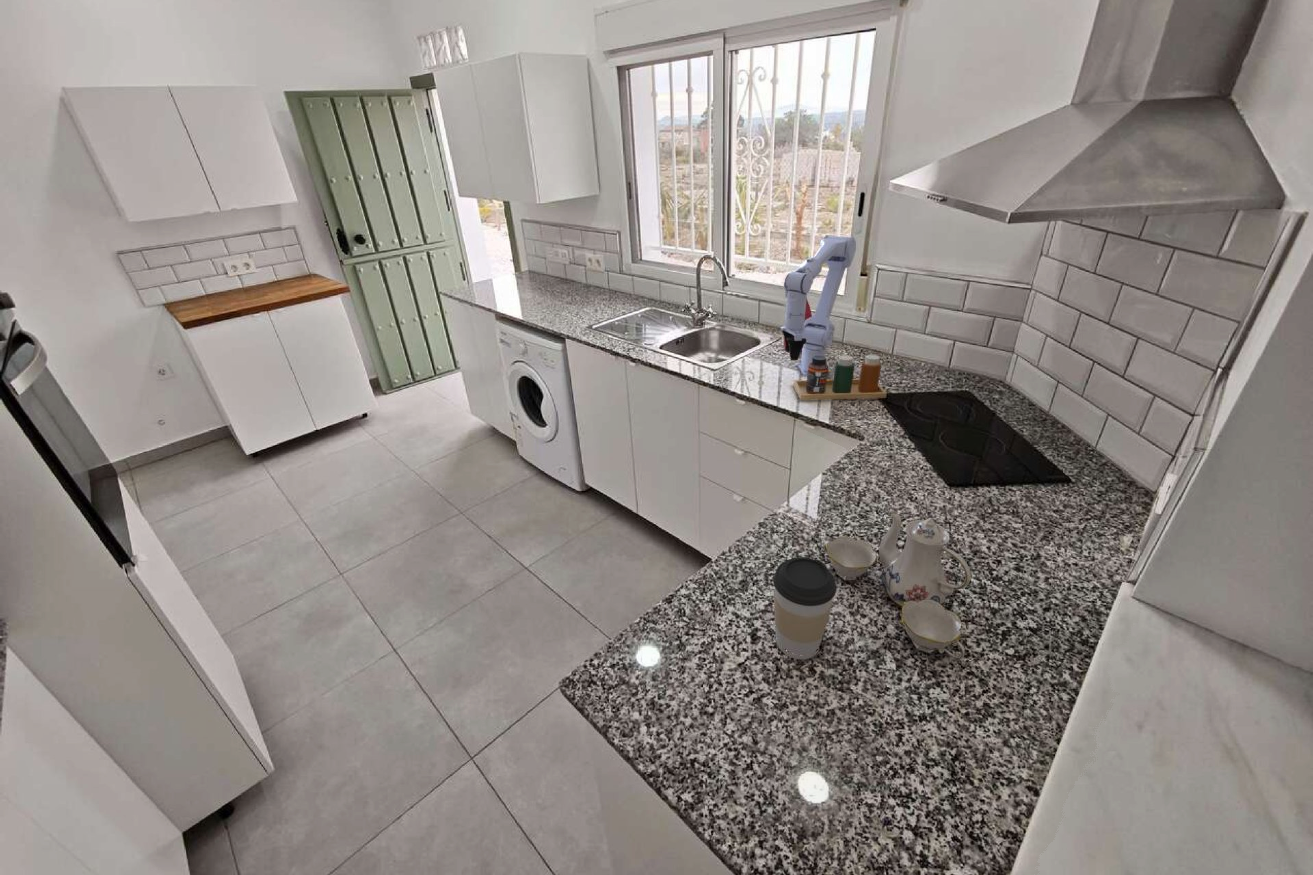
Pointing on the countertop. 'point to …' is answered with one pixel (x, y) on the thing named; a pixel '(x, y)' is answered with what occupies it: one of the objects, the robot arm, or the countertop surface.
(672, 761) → the countertop surface
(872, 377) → the amber bottle
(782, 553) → the countertop surface
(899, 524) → the chinaware
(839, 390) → the dark green bottle
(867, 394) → the tray
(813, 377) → the supplement bottle
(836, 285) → the robot arm
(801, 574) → the coffee cup
